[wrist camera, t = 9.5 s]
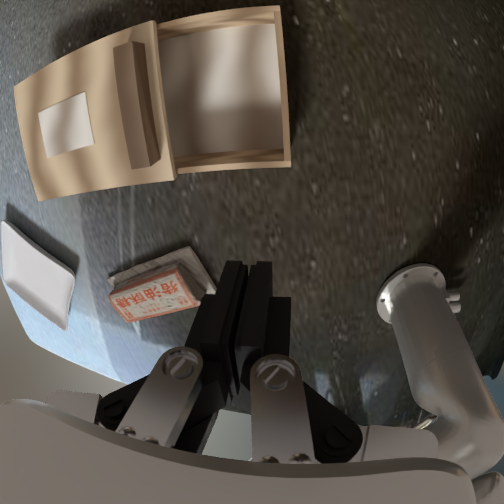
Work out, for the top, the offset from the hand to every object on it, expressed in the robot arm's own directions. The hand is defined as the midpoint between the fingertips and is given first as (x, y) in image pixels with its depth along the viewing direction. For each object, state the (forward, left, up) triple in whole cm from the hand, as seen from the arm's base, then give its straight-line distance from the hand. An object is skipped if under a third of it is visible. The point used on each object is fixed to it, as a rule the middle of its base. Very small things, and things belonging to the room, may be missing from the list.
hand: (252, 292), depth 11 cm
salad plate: (+49, +18, -25) cm, 58 cm away
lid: (+20, -8, -18) cm, 28 cm away
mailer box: (+8, -8, -24) cm, 26 cm away
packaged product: (+19, +20, -25) cm, 37 cm away
